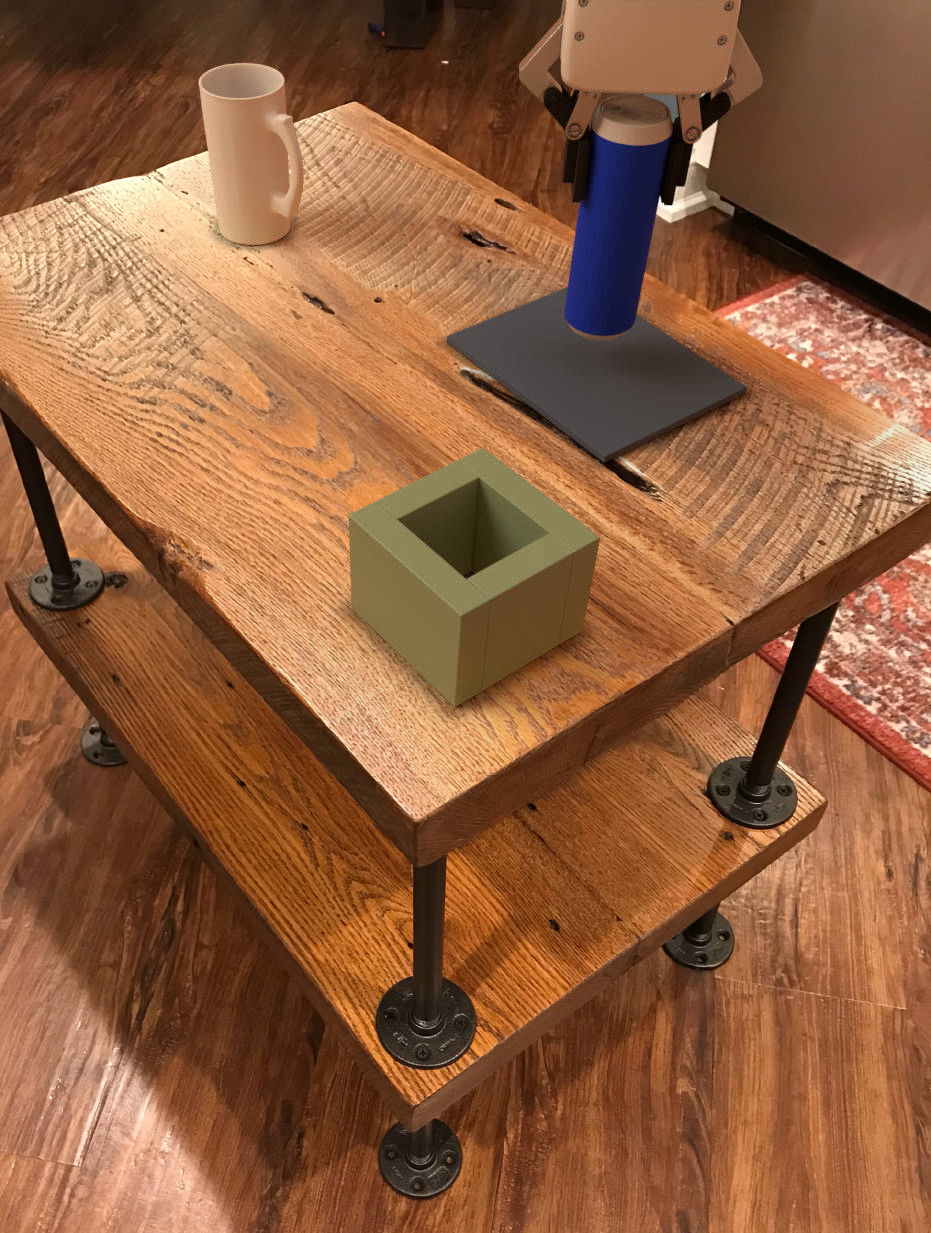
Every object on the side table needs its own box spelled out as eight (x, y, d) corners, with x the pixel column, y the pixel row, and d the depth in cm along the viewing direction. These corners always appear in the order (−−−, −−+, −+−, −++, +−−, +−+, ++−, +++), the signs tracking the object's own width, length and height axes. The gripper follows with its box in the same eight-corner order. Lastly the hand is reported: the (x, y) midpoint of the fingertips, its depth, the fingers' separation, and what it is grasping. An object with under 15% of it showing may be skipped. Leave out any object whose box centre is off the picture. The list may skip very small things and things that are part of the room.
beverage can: (642, 314, 85) (685, 101, 73) (621, 350, 82) (662, 135, 70) (576, 297, 86) (607, 86, 74) (553, 333, 83) (582, 118, 71)
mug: (199, 226, 100) (180, 79, 90) (259, 200, 102) (246, 55, 93) (275, 270, 95) (263, 120, 86) (335, 242, 98) (330, 94, 89)
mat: (745, 393, 84) (747, 386, 84) (604, 463, 79) (605, 456, 79) (582, 286, 94) (583, 279, 93) (446, 342, 88) (446, 335, 88)
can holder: (475, 541, 74) (483, 447, 68) (582, 630, 69) (600, 537, 63) (351, 608, 70) (347, 514, 64) (454, 708, 65) (461, 615, 59)
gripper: (820, -154, 64) (742, 171, 78) (514, -161, 65) (491, 163, 79) (846, -112, 59) (758, 227, 73) (515, -119, 60) (491, 218, 74)
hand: (621, 191), depth 76 cm, fingers closed on beverage can, 5 cm apart
